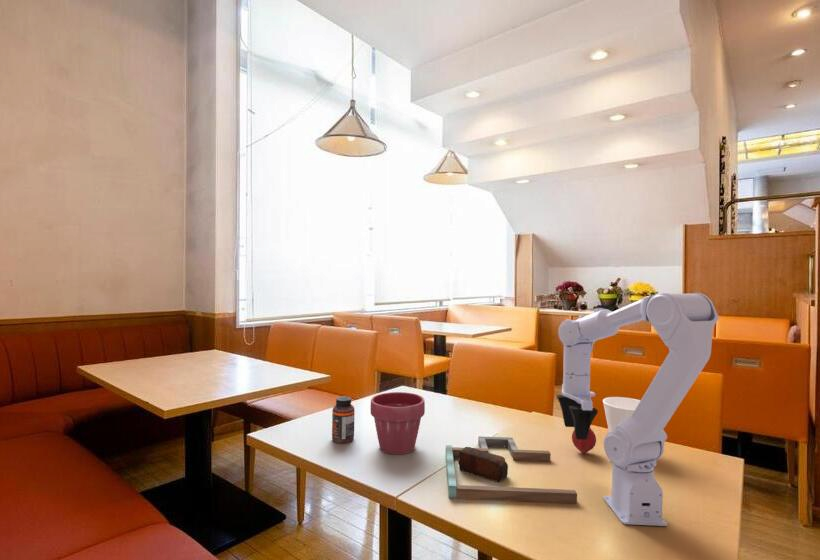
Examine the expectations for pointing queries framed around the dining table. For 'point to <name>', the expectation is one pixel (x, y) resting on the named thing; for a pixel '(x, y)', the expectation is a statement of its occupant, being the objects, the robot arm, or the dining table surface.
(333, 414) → the supplement bottle
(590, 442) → the onion
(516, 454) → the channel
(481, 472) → the brick
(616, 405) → the cup
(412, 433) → the plant pot
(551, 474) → the dining table surface
